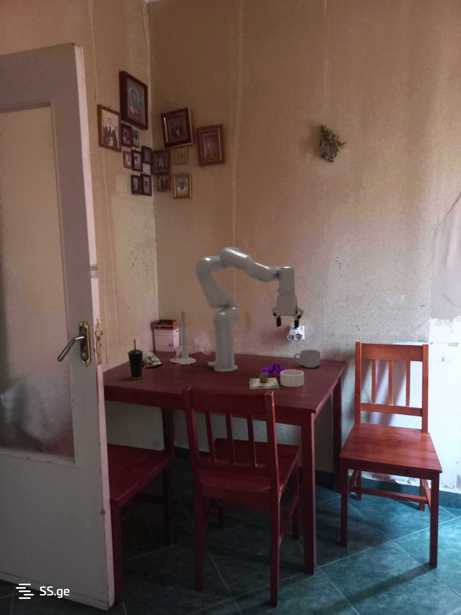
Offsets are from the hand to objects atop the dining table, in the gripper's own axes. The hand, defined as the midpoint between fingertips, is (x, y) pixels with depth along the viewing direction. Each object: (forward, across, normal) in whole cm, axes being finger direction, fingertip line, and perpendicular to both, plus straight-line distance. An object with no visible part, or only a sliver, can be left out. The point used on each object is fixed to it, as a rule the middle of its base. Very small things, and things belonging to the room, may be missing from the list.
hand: (287, 327), depth 224 cm
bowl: (+24, +9, -12) cm, 29 cm away
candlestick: (+24, -63, -6) cm, 68 cm away
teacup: (+25, 0, +20) cm, 32 cm away
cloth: (+25, -8, 0) cm, 26 cm away
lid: (+23, -2, -20) cm, 31 cm away
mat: (+24, -2, -20) cm, 32 cm away
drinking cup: (+24, -63, -41) cm, 79 cm away
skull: (+24, -76, -20) cm, 82 cm away
